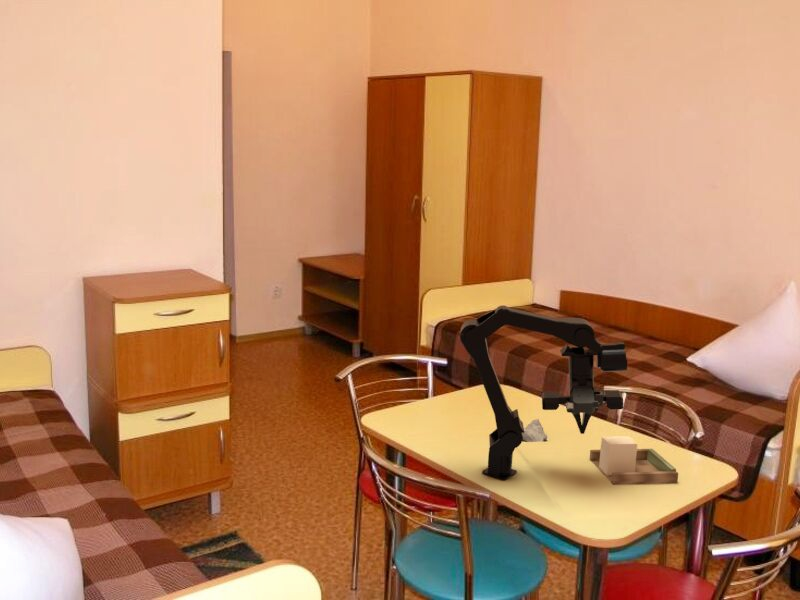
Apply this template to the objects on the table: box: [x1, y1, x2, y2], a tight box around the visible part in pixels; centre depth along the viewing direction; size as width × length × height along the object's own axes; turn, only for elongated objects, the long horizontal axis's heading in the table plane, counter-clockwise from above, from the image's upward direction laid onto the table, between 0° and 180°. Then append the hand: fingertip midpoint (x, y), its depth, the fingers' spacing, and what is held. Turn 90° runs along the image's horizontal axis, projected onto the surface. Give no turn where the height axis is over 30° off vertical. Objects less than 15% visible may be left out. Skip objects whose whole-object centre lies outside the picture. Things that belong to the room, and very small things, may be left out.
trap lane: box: [589, 448, 679, 486], centre depth 192 cm, size 16×15×4 cm
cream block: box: [599, 435, 638, 476], centre depth 191 cm, size 7×5×8 cm
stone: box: [522, 418, 548, 443], centre depth 216 cm, size 6×12×4 cm, turn 150°
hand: (582, 433), depth 188 cm, fingers closed
